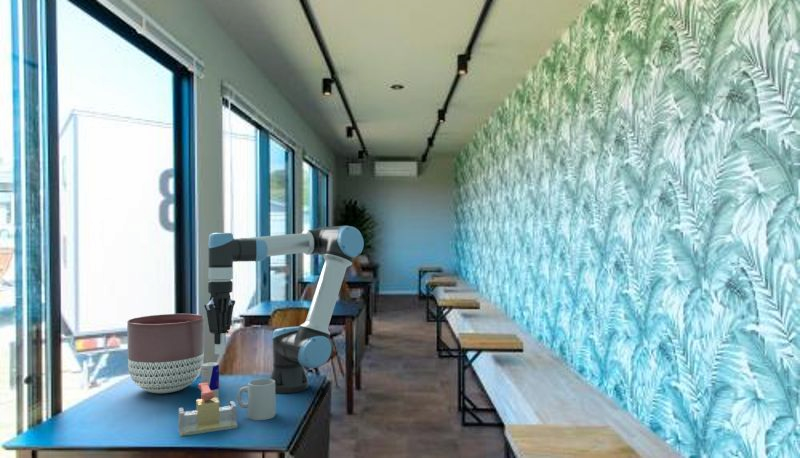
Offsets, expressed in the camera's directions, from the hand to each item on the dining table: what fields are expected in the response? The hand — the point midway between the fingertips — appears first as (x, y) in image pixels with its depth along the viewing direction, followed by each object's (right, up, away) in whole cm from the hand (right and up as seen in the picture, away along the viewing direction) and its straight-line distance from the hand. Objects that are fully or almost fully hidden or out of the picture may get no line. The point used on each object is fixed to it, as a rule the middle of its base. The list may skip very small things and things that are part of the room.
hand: (219, 353), depth 177 cm
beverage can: (-6, -20, +8) cm, 22 cm away
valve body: (0, -20, -11) cm, 23 cm away
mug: (+12, -20, -1) cm, 23 cm away
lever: (-2, -12, -6) cm, 13 cm away
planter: (-30, -21, +29) cm, 46 cm away
